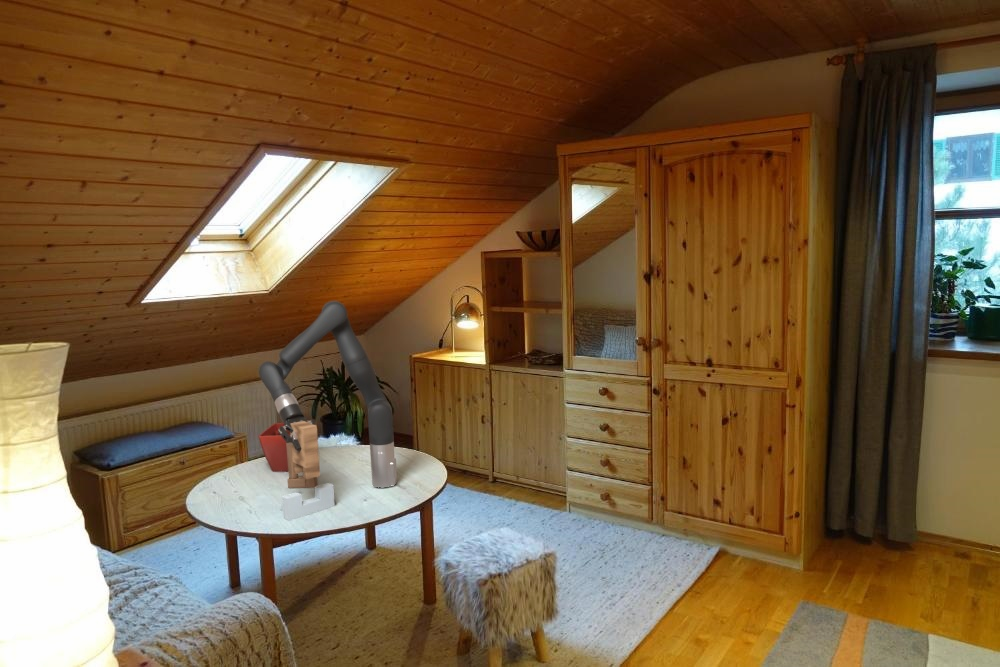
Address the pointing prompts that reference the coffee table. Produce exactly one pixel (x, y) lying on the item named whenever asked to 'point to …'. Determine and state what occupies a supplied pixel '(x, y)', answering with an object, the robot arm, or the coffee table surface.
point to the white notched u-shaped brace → (308, 502)
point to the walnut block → (306, 450)
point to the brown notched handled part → (294, 479)
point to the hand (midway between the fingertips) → (307, 448)
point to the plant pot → (275, 448)
